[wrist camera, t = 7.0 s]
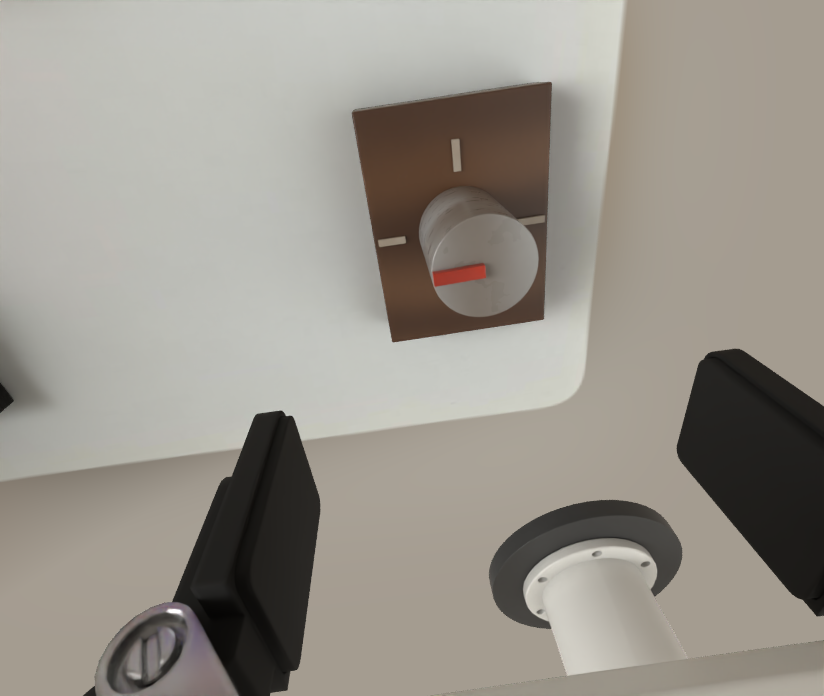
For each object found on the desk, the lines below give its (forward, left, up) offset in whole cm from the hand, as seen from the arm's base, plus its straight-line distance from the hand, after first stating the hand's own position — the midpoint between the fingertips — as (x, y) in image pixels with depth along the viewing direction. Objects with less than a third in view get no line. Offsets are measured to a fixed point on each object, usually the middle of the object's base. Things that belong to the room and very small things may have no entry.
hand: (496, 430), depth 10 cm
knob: (0, -2, -14) cm, 14 cm away
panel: (0, -2, -17) cm, 17 cm away
